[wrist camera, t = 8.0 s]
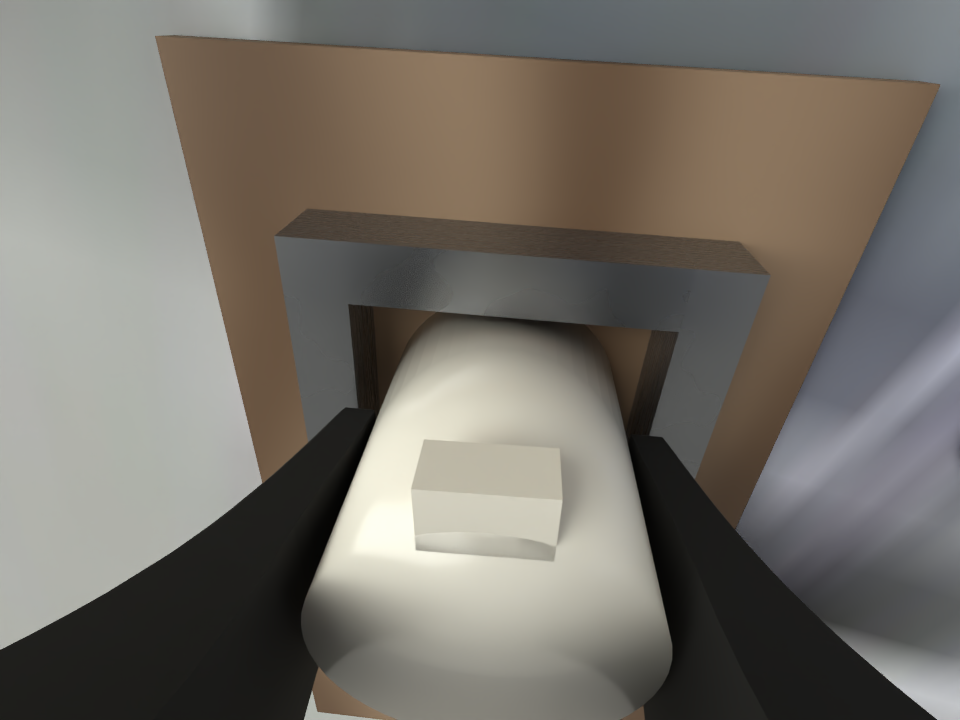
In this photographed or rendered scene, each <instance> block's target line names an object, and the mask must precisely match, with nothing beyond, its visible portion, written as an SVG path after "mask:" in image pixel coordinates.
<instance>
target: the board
mask: <svg viewBox="0 0 960 720" xmlns="http://www.w3.org/2000/svg"><path fill="white" fill-rule="evenodd" d="M155 38H156V42H157V46H158V50H159V54H160V58H161V63H162V67H163V71H164V75H165V79H166V83H167V88H168V92H169V96H170V100H171V104H172V108H173V113H174V117H175V121H176V125H177V129H178V133H179V137H180V142H181V146H182V150H183V154H184V158H185V162H186V167H187V171H188V175H189V179H190V183H191V187H192V192H193V196H194V200H195V204H196V208H197V212H198V217H199V221H200V225H201V229H202V233H203V237H204V241H205V246H206V250H207V254H208V258H209V262H210V266H211V271H212V275H213V279H214V283H215V287H216V291H217V296H218V300H219V304H220V308H221V312H222V316H223V320H224V325H225V329H226V333H227V337H228V341H229V345H230V350H231V354H232V358H233V362H234V366H235V370H236V375H237V379H238V383H239V387H240V391H241V395H242V400H243V404H244V408H245V412H246V416H247V420H248V424H249V429H250V433H251V437H252V441H253V445H254V449H255V454H256V458H257V462H258V466H259V470H260V474H261V479H262V483H264V482H265V481H266V480H267V479H268V478H269V477H270V476H272V475H273V474H274V473H275V472H276V471H277V470H278V469H279V468H281V467H282V466H283V465H284V464H285V463H286V462H287V461H288V460H289V459H291V458H292V457H293V456H294V455H295V454H296V453H297V452H298V451H299V450H300V449H301V448H303V447H304V446H305V445H306V444H307V443H308V438H307V432H306V426H305V420H304V414H303V408H302V402H301V396H300V390H299V384H298V378H297V372H296V366H295V360H294V354H293V348H292V342H291V336H290V330H289V324H288V318H287V312H286V306H285V300H284V294H283V288H282V282H281V276H280V270H279V264H278V258H277V251H276V245H275V239H274V236H275V235H276V234H277V233H278V232H279V231H281V230H282V229H283V228H284V227H285V226H287V225H288V224H289V223H290V222H292V221H293V220H294V219H295V218H296V217H298V216H299V215H300V214H301V213H302V212H304V211H305V210H306V209H320V210H333V211H346V212H359V213H372V214H385V215H398V216H411V217H424V218H438V219H451V220H464V221H477V222H490V223H503V224H516V225H529V226H542V227H555V228H568V229H581V230H594V231H608V232H621V233H634V234H647V235H660V236H673V237H686V238H699V239H712V240H725V241H738V242H740V243H741V244H742V245H743V246H744V247H745V248H746V249H747V250H748V251H749V252H750V253H751V255H752V256H753V257H754V258H755V259H756V260H757V261H758V262H759V263H760V264H761V265H762V266H763V267H764V268H765V270H766V271H767V272H768V273H769V274H770V275H771V276H770V279H769V282H768V284H767V287H766V290H765V292H764V295H763V298H762V300H761V303H760V306H759V308H758V311H757V314H756V316H755V319H754V322H753V325H752V327H751V330H750V333H749V335H748V338H747V341H746V343H745V346H744V349H743V351H742V354H741V357H740V359H739V362H738V365H737V367H736V370H735V373H734V376H733V378H732V381H731V384H730V386H729V389H728V392H727V394H726V397H725V400H724V402H723V405H722V408H721V410H720V413H719V416H718V418H717V421H716V424H715V427H714V429H713V432H712V435H711V437H710V440H709V443H708V445H707V448H706V451H705V453H704V456H703V459H702V461H701V464H700V467H699V470H698V472H697V475H696V478H695V481H696V482H697V483H698V484H699V486H700V487H701V488H702V490H703V491H704V492H705V493H706V495H707V496H708V497H709V499H710V500H711V501H712V502H713V504H714V505H715V506H716V507H717V509H718V510H719V511H720V512H721V513H722V515H723V516H724V517H725V518H726V519H727V521H728V522H729V523H730V524H731V526H732V527H733V528H734V529H736V526H737V524H738V522H739V520H740V518H741V516H742V513H743V511H744V509H745V507H746V505H747V503H748V500H749V498H750V496H751V494H752V492H753V490H754V487H755V485H756V483H757V481H758V479H759V477H760V474H761V472H762V470H763V468H764V466H765V464H766V461H767V459H768V457H769V455H770V453H771V451H772V448H773V446H774V444H775V442H776V440H777V438H778V435H779V433H780V431H781V429H782V427H783V425H784V422H785V420H786V418H787V416H788V414H789V412H790V409H791V407H792V405H793V403H794V401H795V399H796V396H797V394H798V392H799V390H800V388H801V386H802V384H803V381H804V379H805V377H806V375H807V373H808V371H809V368H810V366H811V364H812V362H813V360H814V358H815V355H816V353H817V351H818V349H819V347H820V345H821V342H822V340H823V338H824V336H825V334H826V332H827V329H828V327H829V325H830V323H831V321H832V319H833V316H834V314H835V312H836V310H837V308H838V306H839V303H840V301H841V299H842V297H843V295H844V293H845V290H846V288H847V286H848V284H849V282H850V280H851V277H852V275H853V273H854V271H855V269H856V267H857V264H858V262H859V260H860V258H861V256H862V254H863V251H864V249H865V247H866V245H867V243H868V241H869V238H870V236H871V234H872V232H873V230H874V228H875V226H876V223H877V221H878V219H879V217H880V215H881V213H882V210H883V208H884V206H885V204H886V202H887V200H888V197H889V195H890V193H891V191H892V189H893V187H894V184H895V182H896V180H897V178H898V176H899V174H900V171H901V169H902V167H903V165H904V163H905V161H906V158H907V156H908V154H909V152H910V150H911V148H912V145H913V143H914V141H915V139H916V137H917V135H918V132H919V130H920V128H921V126H922V124H923V122H924V119H925V117H926V115H927V113H928V111H929V109H930V106H931V104H932V102H933V100H934V98H935V96H936V93H937V91H938V89H939V87H940V84H933V83H927V82H920V81H908V80H892V79H875V78H859V77H843V76H827V75H811V74H794V73H778V72H762V71H746V70H730V69H713V68H697V67H681V66H665V65H648V64H632V63H616V62H600V61H584V60H567V59H551V58H535V57H519V56H503V55H486V54H470V53H454V52H438V51H422V50H405V49H389V48H373V47H357V46H340V45H324V44H308V43H292V42H276V41H259V40H243V39H227V38H211V37H195V36H178V35H170V36H155ZM373 310H374V325H375V340H376V355H377V370H378V385H379V401H380V409H381V407H382V404H383V402H384V399H385V397H386V394H387V392H388V389H389V387H390V384H391V382H392V379H393V376H394V374H395V371H396V369H397V366H398V364H399V361H400V359H401V356H402V354H403V351H404V349H405V347H406V345H407V343H408V341H409V339H410V338H411V336H412V335H413V334H414V332H415V331H416V330H417V328H418V327H419V326H420V325H421V324H422V323H423V322H424V321H425V320H426V319H428V318H429V317H430V316H432V315H433V314H434V313H436V312H435V311H423V310H411V309H400V308H388V307H376V306H373ZM585 325H586V326H587V327H588V328H589V329H590V330H591V331H592V332H593V333H594V335H595V336H596V337H597V338H598V340H599V341H600V343H601V345H602V346H603V348H604V350H605V352H606V354H607V357H608V359H609V362H610V366H611V371H612V375H613V379H614V384H615V388H616V393H617V398H618V402H619V407H620V411H621V416H622V420H623V425H624V429H625V432H626V428H627V424H628V420H629V416H630V413H631V409H632V405H633V401H634V397H635V393H636V389H637V385H638V381H639V378H640V374H641V370H642V366H643V362H644V358H645V354H646V350H647V346H648V343H649V339H650V335H651V331H652V330H648V329H636V328H624V327H612V326H600V325H588V324H585ZM312 691H313V695H314V699H315V703H316V707H317V711H318V712H324V713H332V714H340V715H349V716H357V717H365V718H373V719H382V720H397V719H395V718H392V717H390V716H387V715H385V714H383V713H381V712H379V711H377V710H375V709H373V708H371V707H369V706H367V705H365V704H363V703H362V702H360V701H358V700H357V699H355V698H353V697H352V696H351V695H349V694H348V693H346V692H345V691H344V690H342V689H341V688H340V687H338V686H337V685H336V684H335V683H334V682H333V681H332V680H331V679H330V678H328V677H327V676H326V675H325V673H324V672H323V671H322V670H321V669H320V667H318V670H317V674H316V678H315V681H314V685H313V688H312ZM620 720H645V716H644V707H643V706H642V707H640V708H639V709H637V710H636V711H634V712H633V713H631V714H629V715H628V716H626V717H624V718H622V719H620Z"/></svg>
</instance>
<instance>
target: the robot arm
mask: <svg viewBox="0 0 960 720" xmlns="http://www.w3.org/2000/svg"><path fill="white" fill-rule="evenodd" d="M375 422H376V416H375V410H369V409H359V408H348V407H345V408H344V409H343V410H341V411H340V412H339V413H338V414H337V415H336V416H335V417H334V418H333V419H332V420H331V421H330V422H329V423H328V424H327V425H326V426H325V427H323V428H322V429H321V430H320V431H319V432H318V433H317V434H316V435H315V436H314V437H313V438H312V439H311V440H310V441H309V442H308V443H307V444H306V445H305V446H304V447H303V448H301V449H300V450H299V451H298V452H297V453H296V454H295V455H294V456H293V457H292V458H291V459H289V460H288V461H287V462H286V463H285V464H284V465H283V466H282V467H281V468H279V469H278V470H277V471H276V472H275V473H274V474H273V475H272V476H270V477H269V478H268V479H267V480H266V481H265V482H264V483H262V484H261V485H260V486H259V487H257V488H256V489H255V490H254V491H253V492H251V493H250V494H249V495H248V496H246V497H245V498H244V499H243V500H242V501H240V502H239V503H238V504H237V505H236V506H234V507H233V508H232V509H231V510H229V511H228V512H227V513H225V514H224V515H223V516H222V517H220V518H219V519H218V520H216V521H215V522H214V523H212V524H211V525H210V526H208V527H207V528H206V529H204V530H203V531H201V532H200V533H199V534H197V535H196V536H194V537H193V538H192V539H190V540H189V541H187V542H186V543H184V544H183V545H182V546H180V547H179V548H177V549H176V550H174V551H173V552H171V553H170V554H168V555H167V556H165V557H164V558H162V559H161V560H159V561H157V562H156V563H154V564H152V565H151V566H149V567H148V568H146V569H144V570H143V571H141V572H140V573H138V574H136V575H135V576H133V577H131V578H130V579H128V580H127V581H125V582H123V583H122V584H120V585H119V586H117V587H115V588H114V589H112V590H110V591H109V592H107V593H105V594H104V595H102V596H100V597H98V598H97V599H95V600H93V601H91V602H90V603H88V604H86V605H84V606H82V607H81V608H79V609H77V610H75V611H74V612H72V613H70V614H68V615H66V616H64V617H63V618H61V619H59V620H57V621H55V622H53V623H51V624H49V625H48V626H46V627H44V628H42V629H40V630H38V631H36V632H34V633H32V634H31V635H29V636H27V637H25V638H23V639H21V640H19V641H17V642H15V643H13V644H11V645H9V646H7V647H5V648H3V649H1V650H0V720H304V717H305V713H306V710H307V706H308V703H309V699H310V695H311V692H312V688H313V685H314V681H315V678H316V674H317V670H318V667H319V666H318V665H317V664H316V662H315V661H314V659H313V658H312V656H311V654H310V653H309V651H308V649H307V646H306V644H305V641H304V639H303V634H302V628H301V612H302V608H303V605H304V602H305V598H306V596H307V593H308V591H309V588H310V586H311V583H312V581H313V578H314V576H315V573H316V570H317V568H318V565H319V563H320V560H321V558H322V555H323V553H324V550H325V548H326V545H327V543H328V540H329V538H330V535H331V533H332V530H333V528H334V525H335V523H336V520H337V518H338V515H339V513H340V510H341V507H342V505H343V502H344V500H345V497H346V495H347V492H348V490H349V487H350V485H351V482H352V480H353V477H354V475H355V472H356V470H357V467H358V465H359V462H360V460H361V457H362V455H363V452H364V450H365V447H366V444H367V442H368V439H369V437H370V434H371V432H372V429H373V427H374V424H375ZM628 447H629V452H630V456H631V461H632V465H633V470H634V474H635V479H636V483H637V488H638V492H639V497H640V502H641V506H642V511H643V515H644V520H645V524H646V529H647V533H648V538H649V542H650V547H651V551H652V556H653V560H654V565H655V569H656V574H657V578H658V583H659V587H660V592H661V596H662V601H663V605H664V610H665V615H666V619H667V624H668V628H669V633H670V637H671V642H672V662H671V666H670V670H669V673H668V675H667V677H666V679H665V681H664V683H663V685H662V686H661V687H660V689H659V690H658V691H657V692H656V694H655V695H654V696H653V697H652V698H651V699H650V700H649V701H647V702H646V703H645V704H644V705H643V707H644V716H645V720H937V719H936V718H934V717H933V716H932V715H931V714H929V713H928V712H927V711H926V710H924V709H923V708H922V707H921V706H919V705H918V704H917V703H916V702H915V701H913V700H912V699H911V698H910V697H908V696H907V695H906V694H905V693H903V692H902V691H901V690H900V689H899V688H897V687H896V686H895V685H894V684H893V683H891V682H890V681H889V680H888V679H887V678H886V677H884V676H883V675H882V674H881V673H880V672H879V671H877V670H876V669H875V668H874V667H873V666H872V665H870V664H869V663H868V662H867V661H866V660H865V659H864V658H862V657H861V656H860V655H859V654H858V653H857V652H855V651H854V650H853V649H852V648H851V647H850V646H849V645H847V644H846V643H845V642H844V641H843V640H842V639H841V638H840V637H839V636H838V635H836V634H835V633H834V632H833V631H832V630H831V629H830V628H829V627H828V626H827V625H826V624H824V623H823V622H822V621H821V620H820V619H819V618H818V617H817V616H816V615H815V614H814V613H813V612H812V611H811V610H810V609H809V608H808V607H807V606H806V605H805V604H804V603H803V602H802V601H801V600H800V599H799V598H798V597H797V596H796V595H795V594H794V593H793V592H792V591H790V589H789V588H788V587H787V586H786V585H785V584H784V583H783V582H782V581H781V580H780V579H779V578H778V577H777V576H776V575H775V574H774V573H773V572H772V571H771V570H770V569H769V568H768V566H767V565H766V564H765V563H764V562H763V561H762V560H761V559H760V558H759V557H758V555H757V554H756V553H755V552H754V551H753V550H752V549H751V548H750V547H749V546H748V544H747V543H746V542H745V541H744V540H743V539H742V537H741V536H740V535H739V534H738V533H737V532H736V530H735V529H734V528H733V527H732V526H731V524H730V523H729V522H728V521H727V519H726V518H725V517H724V516H723V515H722V513H721V512H720V511H719V510H718V509H717V507H716V506H715V505H714V504H713V502H712V501H711V500H710V499H709V497H708V496H707V495H706V493H705V492H704V491H703V490H702V488H701V487H700V486H699V484H698V483H697V482H696V481H695V479H694V478H693V477H692V475H691V474H690V473H689V471H688V470H687V469H686V467H685V466H684V465H683V463H682V462H681V461H680V459H679V458H678V457H677V455H676V454H675V453H674V451H673V450H672V449H671V447H670V446H669V445H668V444H667V442H666V441H665V440H664V438H663V437H657V436H646V435H635V434H631V436H630V440H629V443H628Z"/></svg>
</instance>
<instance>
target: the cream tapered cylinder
mask: <svg viewBox="0 0 960 720" xmlns="http://www.w3.org/2000/svg"><path fill="white" fill-rule="evenodd" d="M301 628H302V634H303V639H304V641H305V644H306V646H307V649H308V651H309V653H310V654H311V656H312V658H313V659H314V661H315V662H316V664H317V665H318V666H319V667H320V669H321V670H322V671H323V672H324V673H325V675H326V676H327V677H328V678H330V679H331V680H332V681H333V682H334V683H335V684H336V685H337V686H338V687H340V688H341V689H342V690H344V691H345V692H346V693H348V694H349V695H351V696H352V697H353V698H355V699H357V700H358V701H360V702H362V703H363V704H365V705H367V706H369V707H371V708H373V709H375V710H377V711H379V712H381V713H383V714H385V715H387V716H390V717H392V718H395V719H397V720H620V719H622V718H624V717H626V716H628V715H629V714H631V713H633V712H634V711H636V710H637V709H639V708H640V707H642V706H643V705H644V704H645V703H646V702H647V701H649V700H650V699H651V698H652V697H653V696H654V695H655V694H656V692H657V691H658V690H659V689H660V687H661V686H662V685H663V683H664V681H665V679H666V677H667V675H668V673H669V670H670V666H671V662H672V642H671V637H670V633H669V628H668V624H667V619H666V615H665V610H664V605H663V601H662V596H661V592H660V587H659V583H658V578H657V574H656V569H655V565H654V560H653V556H652V551H651V547H650V542H649V538H648V533H647V529H646V524H645V520H644V515H643V511H642V506H641V502H640V497H639V492H638V488H637V483H636V479H635V474H634V470H633V465H632V461H631V456H630V452H629V447H628V443H627V438H626V434H625V429H624V425H623V420H622V416H621V411H620V407H619V402H618V398H617V393H616V388H615V384H614V379H613V375H612V371H611V366H610V362H609V359H608V357H607V354H606V352H605V350H604V348H603V346H602V345H601V343H600V341H599V340H598V338H597V337H596V336H595V335H594V333H593V332H592V331H591V330H590V329H589V328H588V327H587V326H586V325H585V324H577V323H565V322H553V321H541V320H529V319H518V318H506V317H494V316H482V315H470V314H459V313H447V312H436V313H434V314H433V315H432V316H430V317H429V318H428V319H426V320H425V321H424V322H423V323H422V324H421V325H420V326H419V327H418V328H417V330H416V331H415V332H414V334H413V335H412V336H411V338H410V339H409V341H408V343H407V345H406V347H405V349H404V351H403V354H402V356H401V359H400V361H399V364H398V366H397V369H396V371H395V374H394V376H393V379H392V382H391V384H390V387H389V389H388V392H387V394H386V397H385V399H384V402H383V404H382V407H381V409H380V412H379V414H378V417H377V419H376V422H375V424H374V427H373V429H372V432H371V434H370V437H369V439H368V442H367V444H366V447H365V450H364V452H363V455H362V457H361V460H360V462H359V465H358V467H357V470H356V472H355V475H354V477H353V480H352V482H351V485H350V487H349V490H348V492H347V495H346V497H345V500H344V502H343V505H342V507H341V510H340V513H339V515H338V518H337V520H336V523H335V525H334V528H333V530H332V533H331V535H330V538H329V540H328V543H327V545H326V548H325V550H324V553H323V555H322V558H321V560H320V563H319V565H318V568H317V570H316V573H315V576H314V578H313V581H312V583H311V586H310V588H309V591H308V593H307V596H306V598H305V602H304V605H303V608H302V612H301Z"/></svg>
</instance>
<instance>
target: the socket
mask: <svg viewBox="0 0 960 720" xmlns="http://www.w3.org/2000/svg"><path fill="white" fill-rule="evenodd" d="M274 239H275V245H276V251H277V258H278V264H279V270H280V276H281V282H282V288H283V294H284V300H285V306H286V312H287V318H288V324H289V330H290V336H291V342H292V348H293V354H294V360H295V366H296V372H297V378H298V384H299V390H300V396H301V402H302V408H303V414H304V420H305V426H306V432H307V438H308V442H309V441H310V440H311V439H312V438H313V437H314V436H315V435H316V434H317V433H318V432H319V431H320V430H321V429H322V428H323V427H325V426H326V425H327V424H328V423H329V422H330V421H331V420H332V419H333V418H334V417H335V416H336V415H337V414H338V413H339V412H340V411H341V410H343V409H344V408H345V407H348V408H359V409H369V410H375V416H376V419H377V417H378V414H379V412H380V401H379V385H378V370H377V355H376V340H375V325H374V310H373V306H376V307H388V308H400V309H411V310H423V311H435V312H447V313H459V314H470V315H482V316H494V317H506V318H518V319H529V320H541V321H553V322H565V323H577V324H588V325H600V326H612V327H624V328H636V329H648V330H652V331H651V335H650V339H649V343H648V346H647V350H646V354H645V358H644V362H643V366H642V370H641V374H640V378H639V381H638V385H637V389H636V393H635V397H634V401H633V405H632V409H631V413H630V416H629V420H628V424H627V428H626V432H625V434H626V438H627V443H629V440H630V436H631V434H635V435H646V436H657V437H663V438H664V440H665V441H666V442H667V444H668V445H669V446H670V447H671V449H672V450H673V451H674V453H675V454H676V455H677V457H678V458H679V459H680V461H681V462H682V463H683V465H684V466H685V467H686V469H687V470H688V471H689V473H690V474H691V475H692V477H693V478H694V479H695V478H696V475H697V472H698V470H699V467H700V464H701V461H702V459H703V456H704V453H705V451H706V448H707V445H708V443H709V440H710V437H711V435H712V432H713V429H714V427H715V424H716V421H717V418H718V416H719V413H720V410H721V408H722V405H723V402H724V400H725V397H726V394H727V392H728V389H729V386H730V384H731V381H732V378H733V376H734V373H735V370H736V367H737V365H738V362H739V359H740V357H741V354H742V351H743V349H744V346H745V343H746V341H747V338H748V335H749V333H750V330H751V327H752V325H753V322H754V319H755V316H756V314H757V311H758V308H759V306H760V303H761V300H762V298H763V295H764V292H765V290H766V287H767V284H768V282H769V279H770V276H771V275H770V274H769V273H768V272H767V271H766V270H765V268H764V267H763V266H762V265H761V264H760V263H759V262H758V261H757V260H756V259H755V258H754V257H753V256H752V255H751V253H750V252H749V251H748V250H747V249H746V248H745V247H744V246H743V245H742V244H741V243H740V242H738V241H725V240H712V239H699V238H686V237H673V236H660V235H647V234H634V233H621V232H608V231H594V230H581V229H568V228H555V227H542V226H529V225H516V224H503V223H490V222H477V221H464V220H451V219H438V218H424V217H411V216H398V215H385V214H372V213H359V212H346V211H333V210H320V209H306V210H305V211H304V212H302V213H301V214H300V215H299V216H298V217H296V218H295V219H294V220H293V221H292V222H290V223H289V224H288V225H287V226H285V227H284V228H283V229H282V230H281V231H279V232H278V233H277V234H276V235H275V236H274Z"/></svg>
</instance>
